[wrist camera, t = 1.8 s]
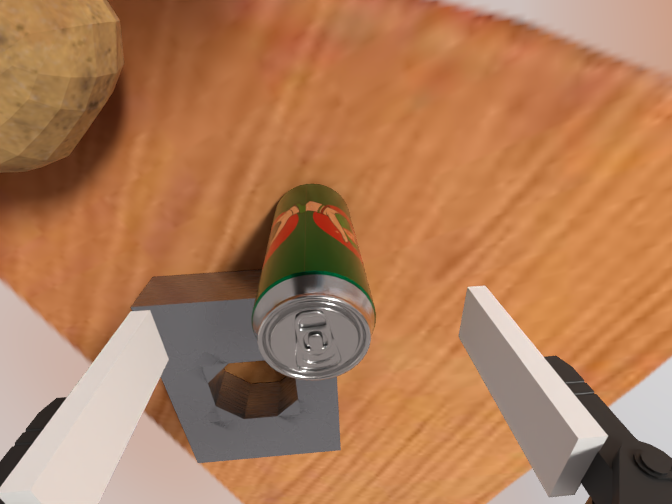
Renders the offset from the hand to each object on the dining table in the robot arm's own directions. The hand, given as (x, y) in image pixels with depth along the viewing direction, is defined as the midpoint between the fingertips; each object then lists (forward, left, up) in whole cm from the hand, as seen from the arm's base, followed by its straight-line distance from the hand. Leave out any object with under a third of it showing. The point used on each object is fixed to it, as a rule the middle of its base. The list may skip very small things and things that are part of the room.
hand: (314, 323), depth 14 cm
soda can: (0, 0, -11) cm, 11 cm away
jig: (+13, -5, -10) cm, 17 cm away
